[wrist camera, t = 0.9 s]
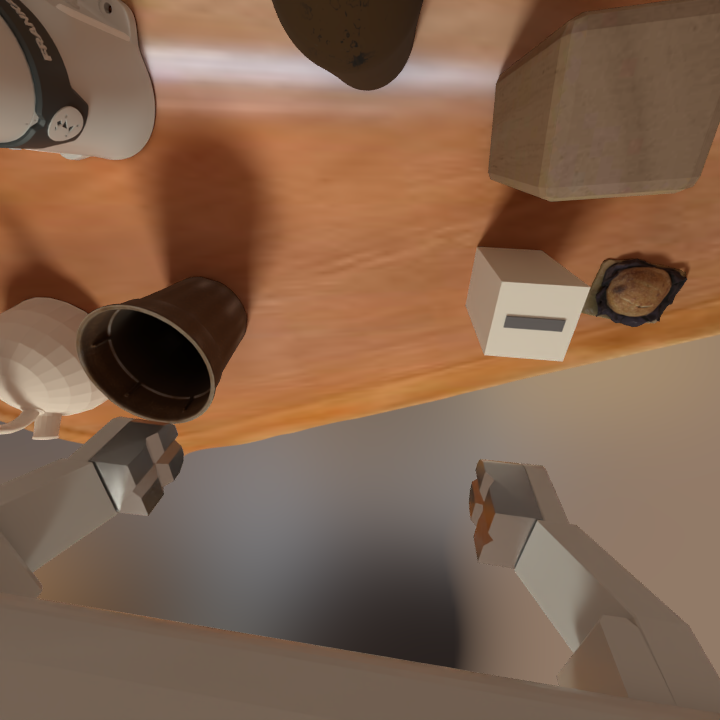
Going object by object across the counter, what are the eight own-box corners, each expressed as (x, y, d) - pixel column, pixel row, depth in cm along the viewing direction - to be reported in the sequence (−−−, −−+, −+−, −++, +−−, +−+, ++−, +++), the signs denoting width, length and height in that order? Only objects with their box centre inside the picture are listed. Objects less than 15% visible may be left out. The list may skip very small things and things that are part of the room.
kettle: (56, 402, 69) (-45, 475, 54) (-15, 301, 59) (-165, 356, 43) (148, 397, 66) (69, 474, 50) (91, 289, 55) (-32, 344, 40)
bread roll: (574, 313, 49) (585, 324, 46) (605, 251, 45) (620, 259, 42) (651, 326, 49) (668, 339, 46) (690, 266, 44) (711, 275, 41)
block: (600, 61, 35) (780, -20, 18) (577, 174, 40) (702, 193, 23) (495, 73, 37) (571, 8, 20) (485, 181, 42) (540, 204, 25)
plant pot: (283, 325, 55) (241, 385, 41) (219, 376, 61) (164, 443, 47) (200, 239, 49) (119, 274, 35) (139, 305, 56) (51, 357, 42)
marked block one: (465, 305, 50) (484, 355, 38) (477, 246, 46) (502, 282, 33) (526, 309, 49) (565, 362, 37) (543, 250, 45) (593, 288, 33)
